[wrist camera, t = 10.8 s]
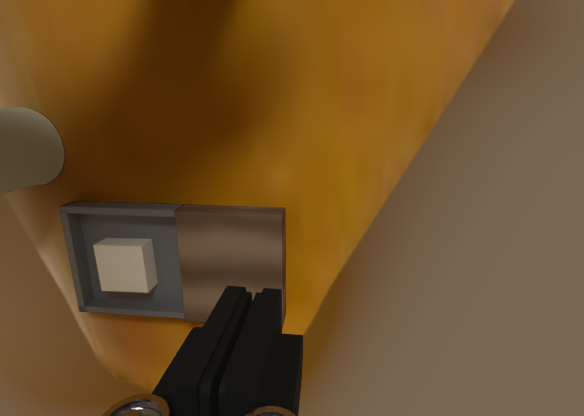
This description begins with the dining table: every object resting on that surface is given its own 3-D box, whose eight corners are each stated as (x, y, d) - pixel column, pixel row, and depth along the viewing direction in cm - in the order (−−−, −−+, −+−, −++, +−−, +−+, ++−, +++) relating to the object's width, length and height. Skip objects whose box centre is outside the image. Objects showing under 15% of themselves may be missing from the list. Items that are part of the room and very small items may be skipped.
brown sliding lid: (185, 204, 41) (174, 211, 38) (285, 207, 40) (282, 215, 37) (194, 307, 45) (185, 321, 42) (285, 313, 43) (282, 327, 41)
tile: (141, 246, 40) (151, 238, 42) (93, 245, 40) (105, 237, 43) (148, 292, 41) (157, 283, 44) (101, 290, 42) (113, 281, 44)
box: (74, 200, 42) (59, 206, 40) (183, 204, 41) (174, 210, 38) (92, 301, 46) (79, 311, 44) (192, 307, 45) (184, 318, 42)
